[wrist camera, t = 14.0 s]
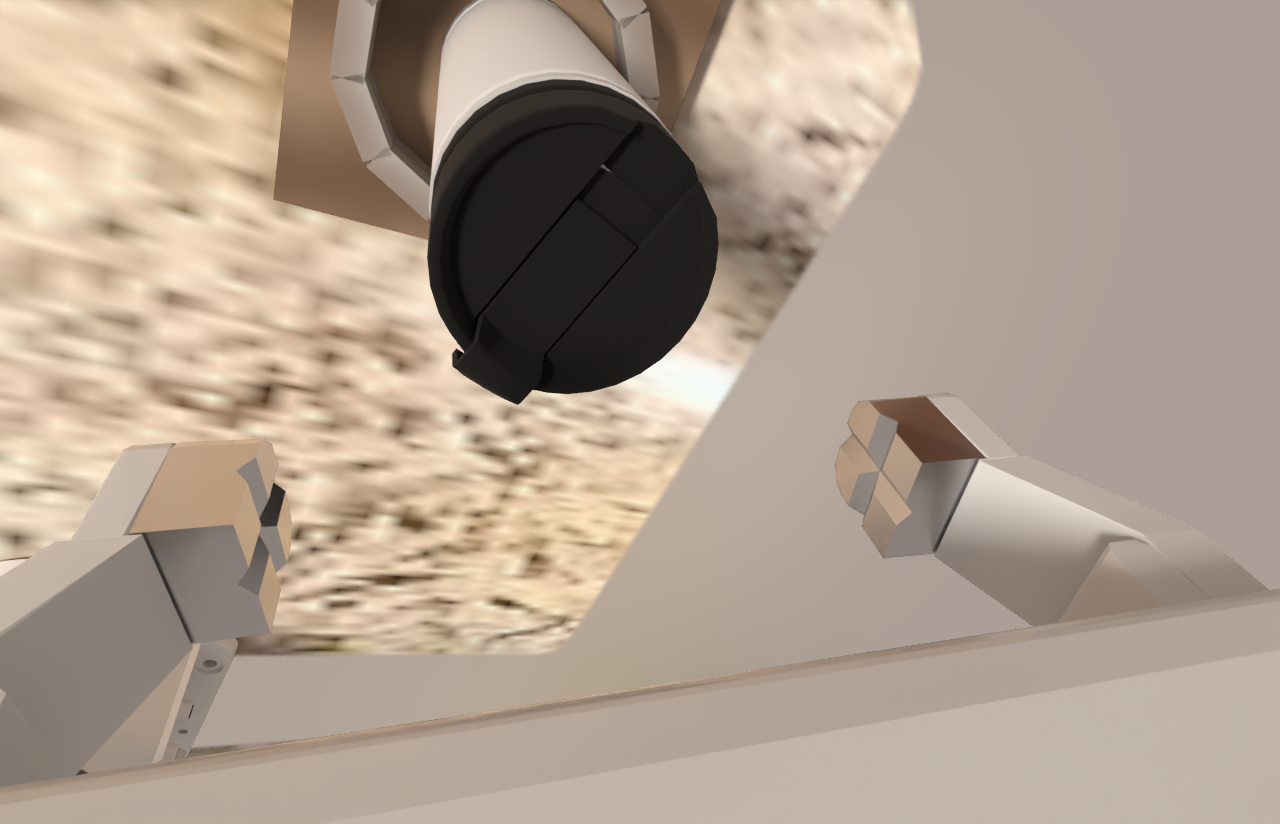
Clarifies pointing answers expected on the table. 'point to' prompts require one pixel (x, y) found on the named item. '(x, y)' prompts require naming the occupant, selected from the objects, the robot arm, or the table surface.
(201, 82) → the table surface
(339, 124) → the collar board
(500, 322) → the travel mug
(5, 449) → the table surface
